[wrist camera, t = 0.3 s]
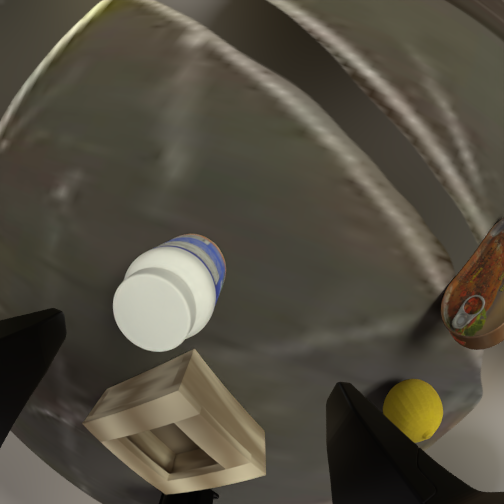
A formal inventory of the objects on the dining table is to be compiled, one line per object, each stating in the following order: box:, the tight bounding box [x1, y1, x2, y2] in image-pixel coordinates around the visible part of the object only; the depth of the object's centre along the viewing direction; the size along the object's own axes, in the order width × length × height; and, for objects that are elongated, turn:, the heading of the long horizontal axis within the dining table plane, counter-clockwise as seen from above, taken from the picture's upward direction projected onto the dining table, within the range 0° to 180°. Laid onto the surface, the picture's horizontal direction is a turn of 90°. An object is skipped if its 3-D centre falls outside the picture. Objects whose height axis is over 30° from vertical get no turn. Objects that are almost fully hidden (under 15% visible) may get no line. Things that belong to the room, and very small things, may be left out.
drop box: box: [83, 349, 266, 495], centre depth 22 cm, size 12×12×6 cm
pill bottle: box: [113, 234, 226, 352], centre depth 17 cm, size 5×5×10 cm
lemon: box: [383, 379, 443, 443], centre depth 20 cm, size 6×6×8 cm
